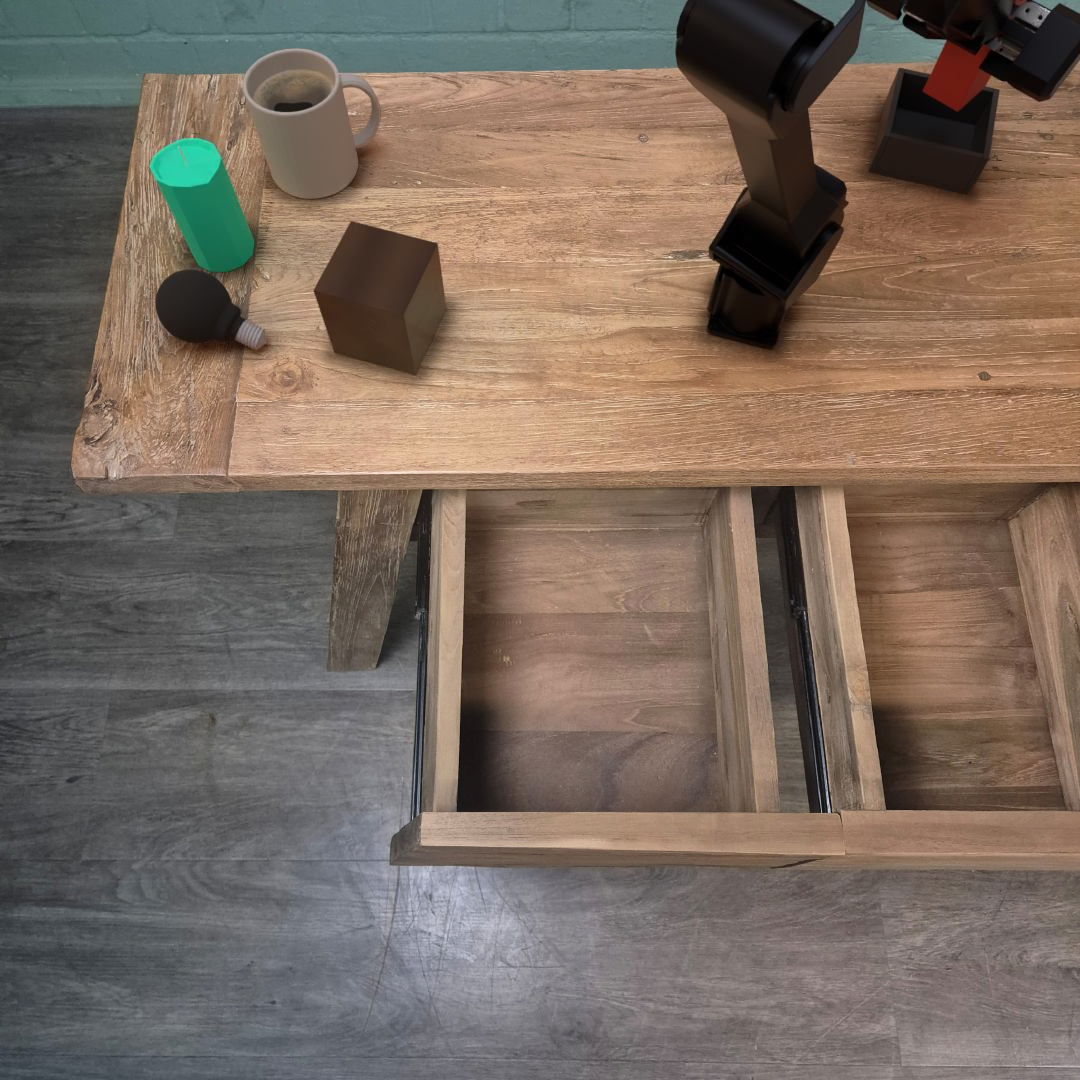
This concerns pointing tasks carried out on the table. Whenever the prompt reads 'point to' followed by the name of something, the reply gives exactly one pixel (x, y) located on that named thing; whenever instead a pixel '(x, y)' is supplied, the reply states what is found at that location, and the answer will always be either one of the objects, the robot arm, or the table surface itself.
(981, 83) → the red rectangular block
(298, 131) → the mug
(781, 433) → the table surface
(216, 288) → the light bulb
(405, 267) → the dark wooden block
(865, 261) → the table surface
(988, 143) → the dark gray open box
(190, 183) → the candle
